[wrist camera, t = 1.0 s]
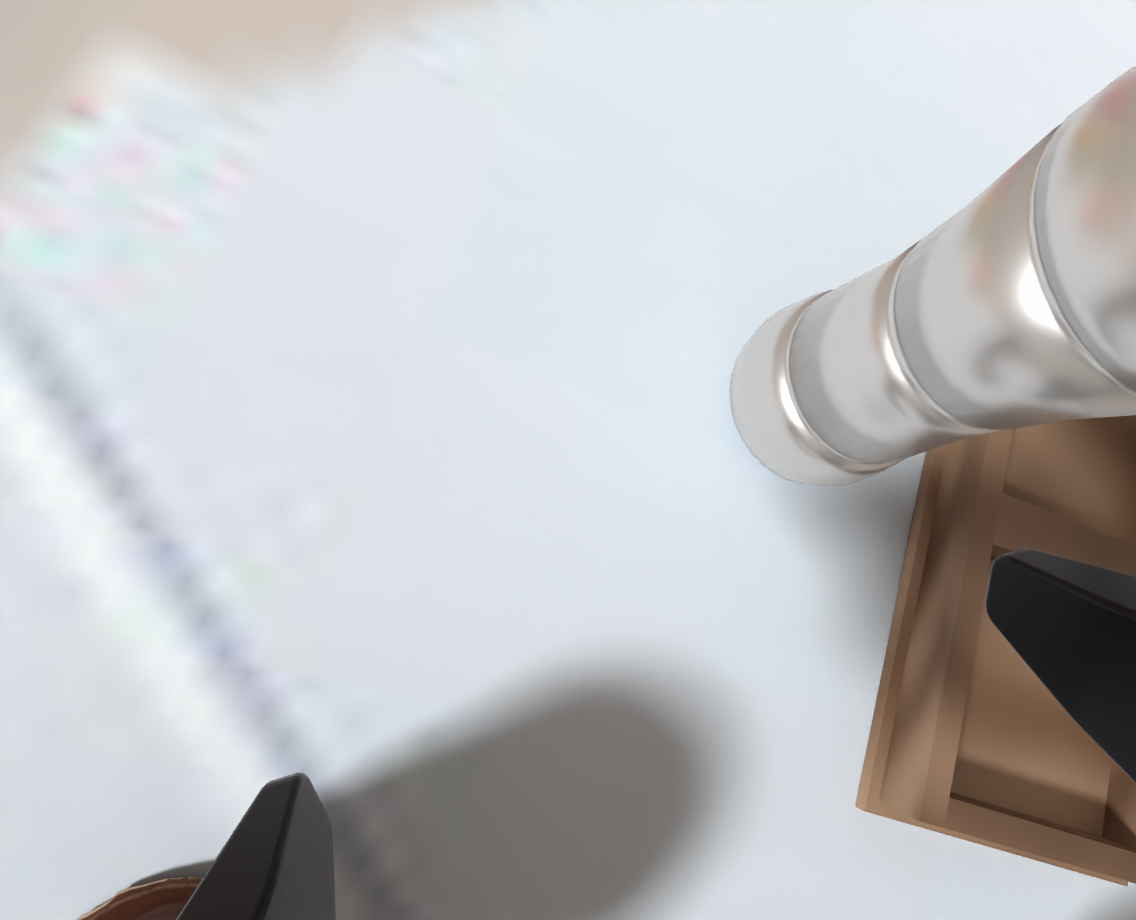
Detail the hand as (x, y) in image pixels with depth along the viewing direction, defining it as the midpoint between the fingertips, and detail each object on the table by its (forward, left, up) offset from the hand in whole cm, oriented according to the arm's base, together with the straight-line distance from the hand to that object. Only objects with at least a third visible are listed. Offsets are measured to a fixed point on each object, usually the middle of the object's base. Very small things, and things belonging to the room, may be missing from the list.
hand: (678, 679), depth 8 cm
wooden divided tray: (-8, -21, -15) cm, 27 cm away
